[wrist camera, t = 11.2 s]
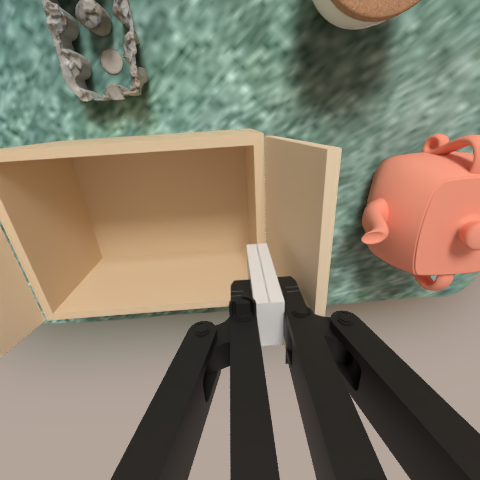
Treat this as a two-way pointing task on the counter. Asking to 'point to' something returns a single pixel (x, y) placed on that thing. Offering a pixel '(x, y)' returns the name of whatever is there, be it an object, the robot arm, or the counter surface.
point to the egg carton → (79, 66)
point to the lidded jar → (361, 11)
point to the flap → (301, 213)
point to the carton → (134, 219)
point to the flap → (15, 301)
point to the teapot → (427, 211)
